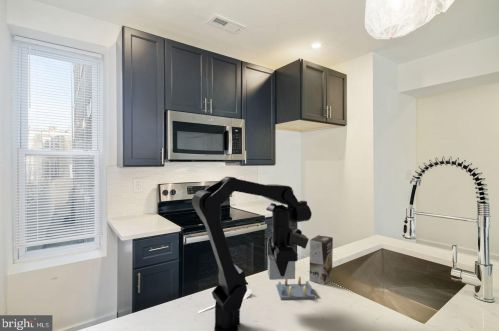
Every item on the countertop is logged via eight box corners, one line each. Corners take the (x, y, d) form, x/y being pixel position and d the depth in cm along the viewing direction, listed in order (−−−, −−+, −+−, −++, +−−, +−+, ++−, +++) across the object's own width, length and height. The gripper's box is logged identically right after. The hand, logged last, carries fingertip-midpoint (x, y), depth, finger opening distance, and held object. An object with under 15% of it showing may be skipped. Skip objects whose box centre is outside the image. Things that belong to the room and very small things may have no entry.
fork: (195, 312, 80) (195, 306, 79) (248, 292, 91) (248, 287, 91) (199, 318, 77) (199, 312, 77) (253, 296, 88) (253, 291, 88)
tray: (280, 299, 86) (281, 288, 86) (276, 286, 95) (276, 276, 95) (315, 298, 87) (315, 287, 87) (308, 285, 96) (308, 275, 96)
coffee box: (324, 285, 96) (325, 242, 96) (308, 280, 100) (309, 239, 100) (333, 276, 103) (333, 237, 103) (317, 272, 107) (318, 234, 107)
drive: (269, 279, 79) (269, 260, 79) (267, 273, 83) (267, 254, 83) (295, 279, 79) (295, 259, 79) (291, 272, 84) (291, 254, 84)
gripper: (315, 231, 72) (315, 286, 73) (298, 217, 91) (298, 261, 91) (276, 232, 72) (276, 287, 72) (267, 217, 90) (267, 261, 90)
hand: (281, 272), depth 81 cm, fingers closed on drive, 4 cm apart
